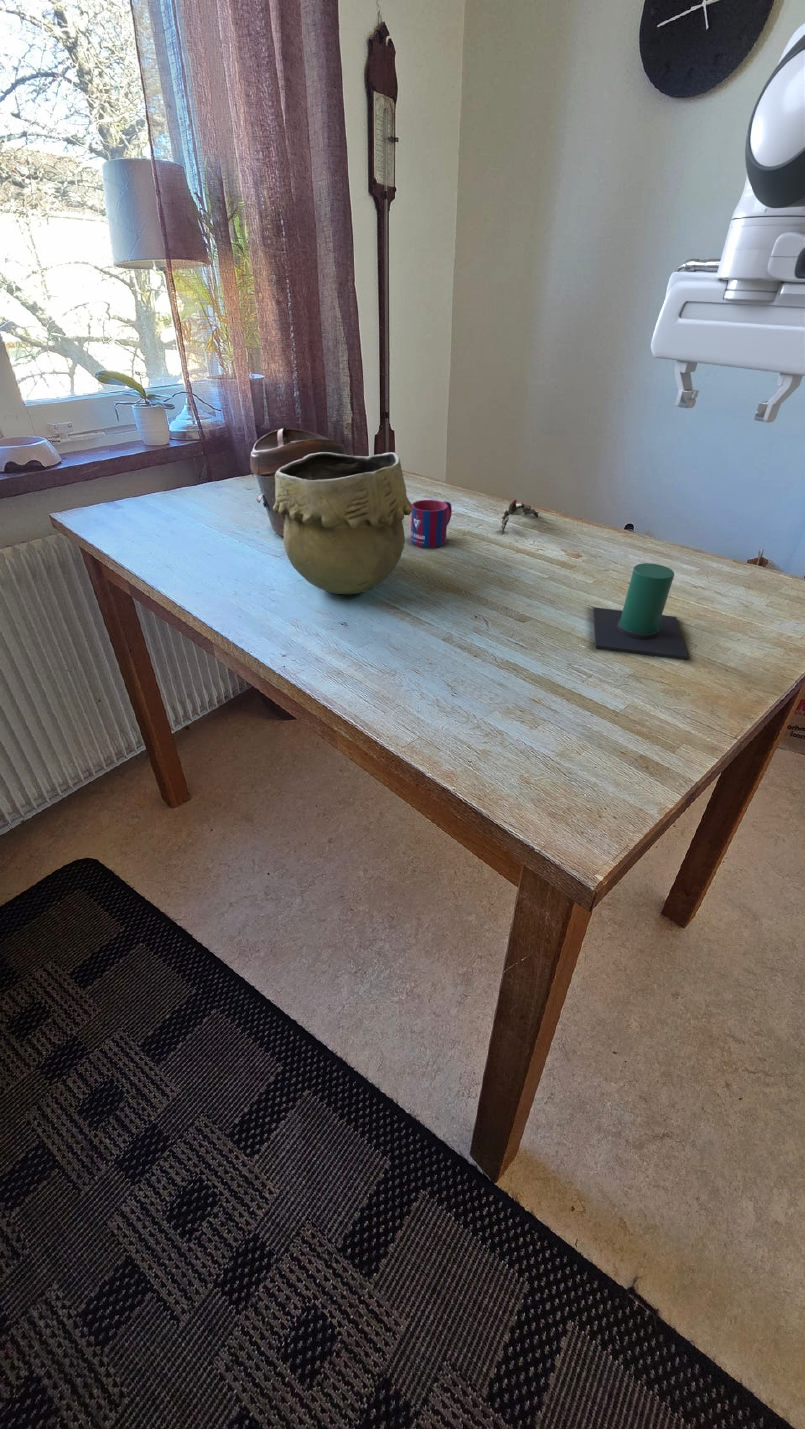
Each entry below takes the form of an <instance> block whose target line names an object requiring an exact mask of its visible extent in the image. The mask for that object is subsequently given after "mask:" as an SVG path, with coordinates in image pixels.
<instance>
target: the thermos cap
mask: <svg viewBox="0 0 805 1429" xmlns="http://www.w3.org/2000/svg"><path fill="white" fill-rule="evenodd" d="M674 577H675V572H674V570H673V569H671V568H670V567H667V566H665V565H661V564H657V563H650V562H649V563H648V562H646V563H645V562H644V563H643V562H642V563H638V564H636V565H634V567H633V569H632V574H631V578H630V581H629V586H628V589H627V592H626V596H625V600H624V604H623V608H622V610H621V611H622V615H621V619H620V620H619V621H618V625H617V628H618V630H619V631H620V632H621V633H622V634H624V635H626V636H628V637H631V638H635V639H652V638H654V637H656V636H657V635H658V632H659V623H660V620H661V617H662V615H663V614H664V610H665V608H666V607H665V606H666V604H667V600H668V597H669V594H670V590H671V587H672V584H673V580H674Z"/></svg>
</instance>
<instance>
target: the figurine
mask: <svg viewBox="0 0 805 1429" xmlns="http://www.w3.org/2000/svg"><path fill="white" fill-rule="evenodd" d="M517 502H518V501H517V499H514V500H512V502H511V503H510V504H509V505H508V508H506V509H505V511H504V513H503V514H502V516H500V518H499V521H500V523H501V529H500V532H501V533H504V531H505V528H506V526H507V524H508V522H509V518H510V516H521V515H523V514H524V516H525V517H526V516H530V515H533V516H534V517H535V518H539V513H540V511H536V510H535V509H534V508H532V506H531V505H528V504H527V503H523V502H519V503H517Z"/></svg>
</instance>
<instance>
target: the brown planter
mask: <svg viewBox="0 0 805 1429" xmlns="http://www.w3.org/2000/svg"><path fill="white" fill-rule="evenodd" d="M319 452H331V453H337V454H343V455H348V453H347V449H346V448H345V446H344V444H343V443H341V442H339V441H336V440H333V439H330V438H328V437H326V436H323V435H321V434H319V433H315V432H312V431H309V430H305V429H301V428H292V427H291V428H290V427H288V428H287V427H285V426H284V427H283V428H279V429H276V430H273V431H271V432H268V433H267V434H265V435H263V436H261V437H260V438H259V439H258V440H257V441H256V442H255V443H254V445H253V448H252V450H251V452H250V457H249V458H250V459H249V469H250V470H251V476H252V477H254V475H255V476H256V480H257V484H258V486H259V490H260V493H261V494H260V495H259V496H258V497H257V498H256V502H257V503H258V504H260V503H261V501H262V505H263V507H264V508H265V509H266V514H267V516H268V519H269V523H270V526H271V528H272V530H273V532H274V533H276V534H277V535H279V536H282V537H284V522H285V515H284V516H282V515H280V513H279V512H278V513H274V511H273V507H274V505H275V503H276V493H275V486H276V482H275V474H276V472H277V470H278V469H279V468H281V467H283V466H285V465H287V464H289V463H291V462H293V461H296V460H300V459H303V458H304V457H305V456H307V455H309V454H314V453H319Z"/></svg>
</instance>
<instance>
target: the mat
mask: <svg viewBox="0 0 805 1429" xmlns="http://www.w3.org/2000/svg"><path fill="white" fill-rule="evenodd" d="M622 611H623V610H621V609H612V608H603V607H593V609H592V613H593V614H592V618H593V631H594V633H593V634H594V648H595V649H598V650H606V651H613V652H614V651H615V652H622V653H629V654H637V655H638V654H639V655H644V656H646V655H647V656H652V657H661V658H669V659H677V660H686V661H687V660H688V658H689V656H688V654H689V653H688V651H687V648H686V644H685V642H684V639H683V638H684V637H683V635H682V631H681V628H680V625H679V622H678V618H677V616H673V615H664V614H662V617H661V620H660V623H659V632H658V635H657V636H656V637H654V638H652V639H635V638H631V637H628V636H626V635H624V634H622V633H621V632H620V631H619V630H618V628H617V625H618V621H619V620H620V619H621V615H622Z"/></svg>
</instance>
